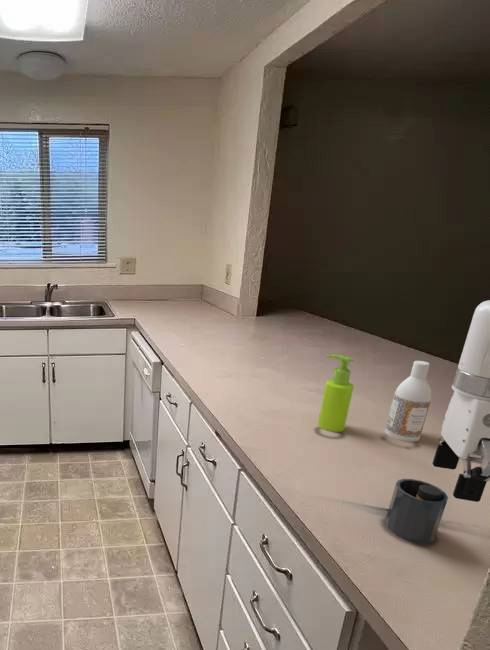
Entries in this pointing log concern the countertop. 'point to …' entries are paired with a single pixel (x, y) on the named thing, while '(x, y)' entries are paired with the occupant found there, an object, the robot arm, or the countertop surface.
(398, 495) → the holder
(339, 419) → the soap dispenser
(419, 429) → the bath foam
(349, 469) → the countertop surface
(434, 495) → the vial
